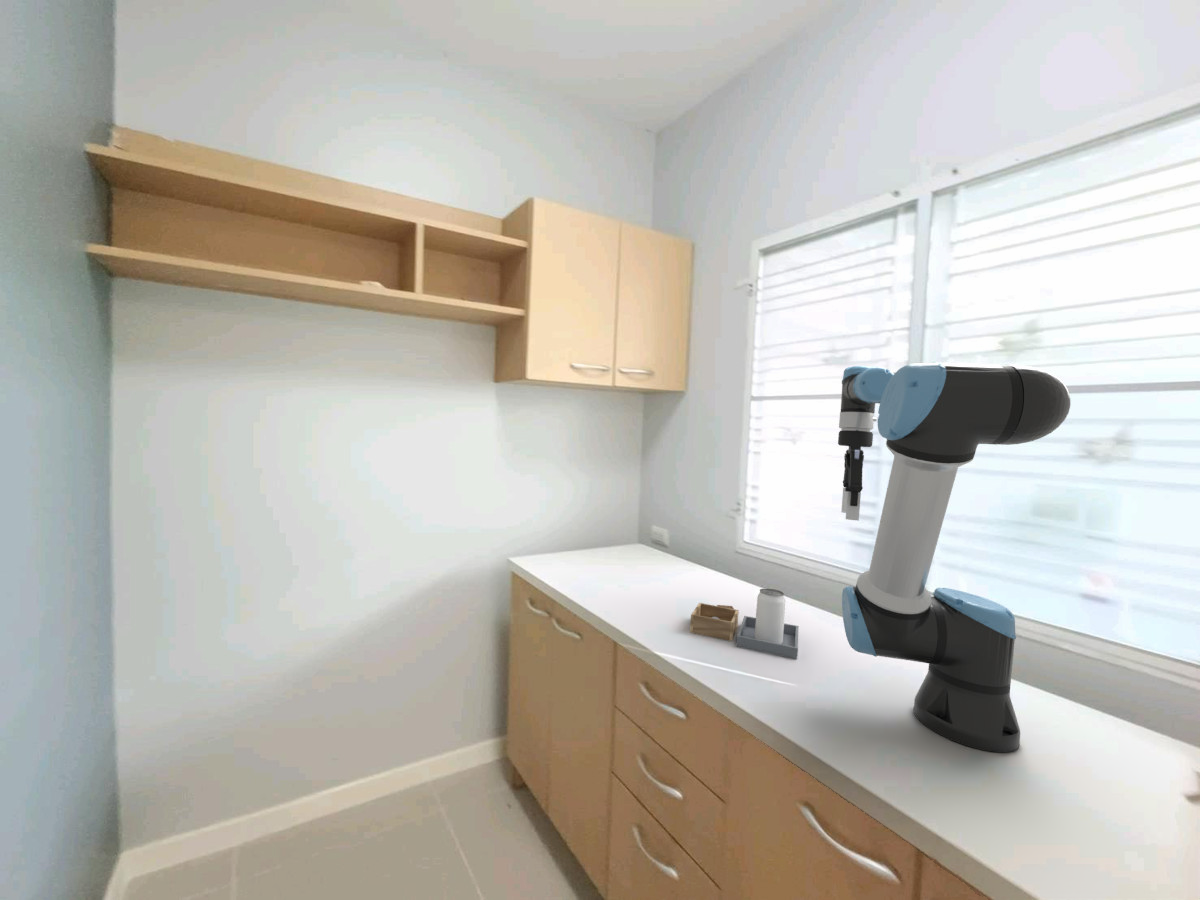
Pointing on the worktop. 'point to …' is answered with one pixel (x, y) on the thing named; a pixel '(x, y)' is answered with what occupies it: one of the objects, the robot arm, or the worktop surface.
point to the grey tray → (750, 642)
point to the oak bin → (714, 621)
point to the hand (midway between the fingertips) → (849, 516)
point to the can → (770, 615)
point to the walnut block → (726, 606)
